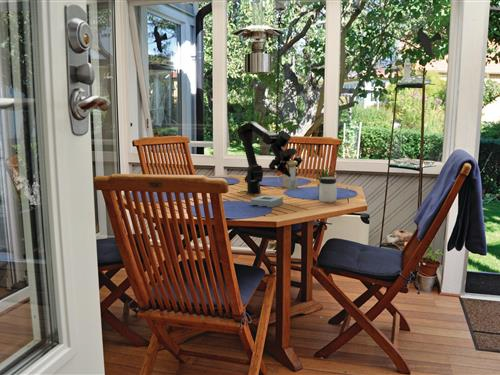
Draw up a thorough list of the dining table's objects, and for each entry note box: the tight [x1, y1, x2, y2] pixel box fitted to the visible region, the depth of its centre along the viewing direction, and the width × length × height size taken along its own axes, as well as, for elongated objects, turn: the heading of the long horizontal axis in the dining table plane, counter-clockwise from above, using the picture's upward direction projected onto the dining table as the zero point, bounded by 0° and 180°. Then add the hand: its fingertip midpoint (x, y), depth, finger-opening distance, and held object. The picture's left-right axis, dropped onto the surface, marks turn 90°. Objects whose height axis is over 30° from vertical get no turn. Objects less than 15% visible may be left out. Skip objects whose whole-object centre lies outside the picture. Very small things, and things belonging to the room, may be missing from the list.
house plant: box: [314, 166, 338, 194], centre depth 259 cm, size 14×14×16 cm
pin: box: [286, 161, 297, 190], centre depth 243 cm, size 6×6×14 cm
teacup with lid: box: [277, 172, 298, 189], centre depth 290 cm, size 12×9×12 cm
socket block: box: [250, 195, 284, 208], centre depth 239 cm, size 12×12×3 cm
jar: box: [318, 176, 338, 203], centre depth 245 cm, size 9×8×12 cm
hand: (293, 176), depth 242 cm, fingers closed on pin, 4 cm apart
